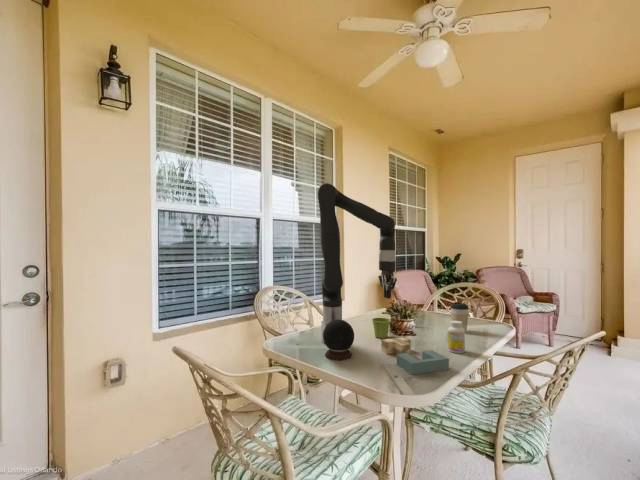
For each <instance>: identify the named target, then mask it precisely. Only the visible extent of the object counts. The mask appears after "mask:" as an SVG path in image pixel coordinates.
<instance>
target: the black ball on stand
mask: <svg viewBox="0 0 640 480" xmlns="http://www.w3.org/2000/svg"><path fill="white" fill-rule="evenodd" d="M323 340H324V342H323V344H324V345H325V346H326V347H327V349H328V350H326V352H325V353H324V354H325V356H324V357H325V358H326V359H328V360H331V361H336V362H338V361H340V362H342V361H349V360H350V359H352V357H353V353H352V352H351V350H350V348H351V347H352V345H353V344H354V341H355V331H354V328H353V327H352V325H351V324H350V323H349V322H347V320H343V319H342V320H339V319H337V320H333V321H331V322H329V323H328V324H327V325H326V327H325V328H324V331H323Z"/></svg>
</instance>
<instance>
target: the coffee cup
mask: <svg viewBox="0 0 640 480" xmlns="http://www.w3.org/2000/svg"><path fill="white" fill-rule="evenodd" d="M450 318H451V320H450V321H461V322H462V328H463V329H464V330H465V332H466V333H467V332H468V331H467V329H468V322H469V319H468V318H469V306H468V305H467V304H466V303H462V302H459V301H457V302H456V301H455V302H453V303H452V304H450Z"/></svg>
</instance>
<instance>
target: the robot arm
mask: <svg viewBox="0 0 640 480" xmlns="http://www.w3.org/2000/svg"><path fill="white" fill-rule="evenodd" d="M316 196H317V202H318V207H319V217H320V218H319V222H320V225H319V229H320V231H319V232H320V233H319V234H320V246H321V253H322V256H323V261H324V262H323V263H324V275H323V277H322V282H321V286H322V287H321V290H322V291H321V292H322V293H321V295H322V299H321V300H322V320H321V342H323V343H324V340H323V331H324V328H325V327H326V325H327V324H328V323H329V322H331V321H333V320H337V319H339V320H343V299H342V288H343V284H344V281H343V279H344V278H343V274H342V268H341V236H340V227H339V223H338V219H337V215H336V214H337V213H336V207H337V208H339V209H341V210H344V211H346V212H348V213H349V214H350V215H352V216H355V217H356V218H358V219H360V220H362V221H363V222H365V223H367V224H370V225H372V226H374V227H376V228H378V229H379V251H378V252H379V253H378V270H379V271H381V273H380V275H378V280H379V285H380V288H382V289H383V298H386V299H392V291H393V290H394V289H395V287H396V283H397V281H398V279H397V277H394V272H395V271H396V269H397V268H396V267H397V266H396V265H397V264H396V263H397V261H396V257H397V256H396V241H395V229H396V228H395V227H396V223H395V220H394V218H392V217H391V216H389V215H387V214H385V213H382V212H380V211H378V210H376V209H375V208H373V207H371V206H368V205H366V204H364V203H362V202H360V201H357V200H355V199H352V198H350V197H349V196H347V195H345V194H343V193H342V192H341V191H340V190H338V189H337V188H336V187H335V186H334V185H333V184H331V183H327V182H326V183H322V184H320V186H319V187H318V189H317V195H316Z"/></svg>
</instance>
